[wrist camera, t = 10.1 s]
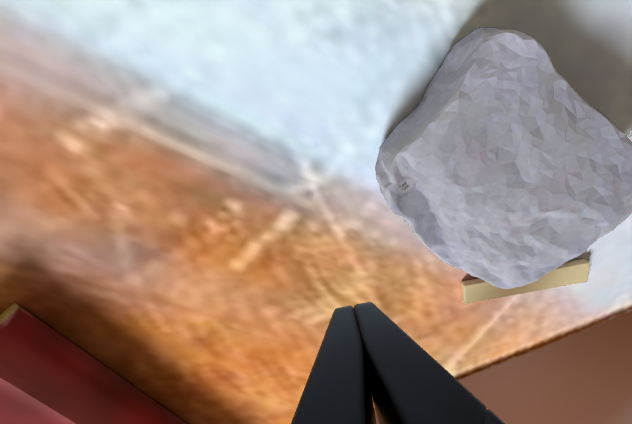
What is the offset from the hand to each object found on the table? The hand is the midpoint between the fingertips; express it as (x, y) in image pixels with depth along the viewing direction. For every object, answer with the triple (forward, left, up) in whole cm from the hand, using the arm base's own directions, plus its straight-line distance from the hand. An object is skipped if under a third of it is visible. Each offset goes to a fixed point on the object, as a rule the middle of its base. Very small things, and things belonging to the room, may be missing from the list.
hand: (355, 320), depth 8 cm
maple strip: (-12, +10, -12) cm, 20 cm away
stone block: (-9, +2, -12) cm, 15 cm away
